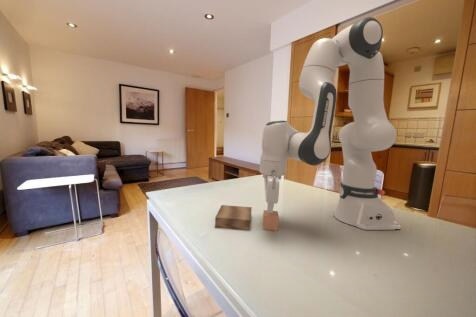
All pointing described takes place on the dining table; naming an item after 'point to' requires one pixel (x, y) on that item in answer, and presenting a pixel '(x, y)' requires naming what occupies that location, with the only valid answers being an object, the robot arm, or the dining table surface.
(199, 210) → the dining table surface
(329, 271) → the dining table surface
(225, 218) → the walnut board
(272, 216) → the terracotta cube
